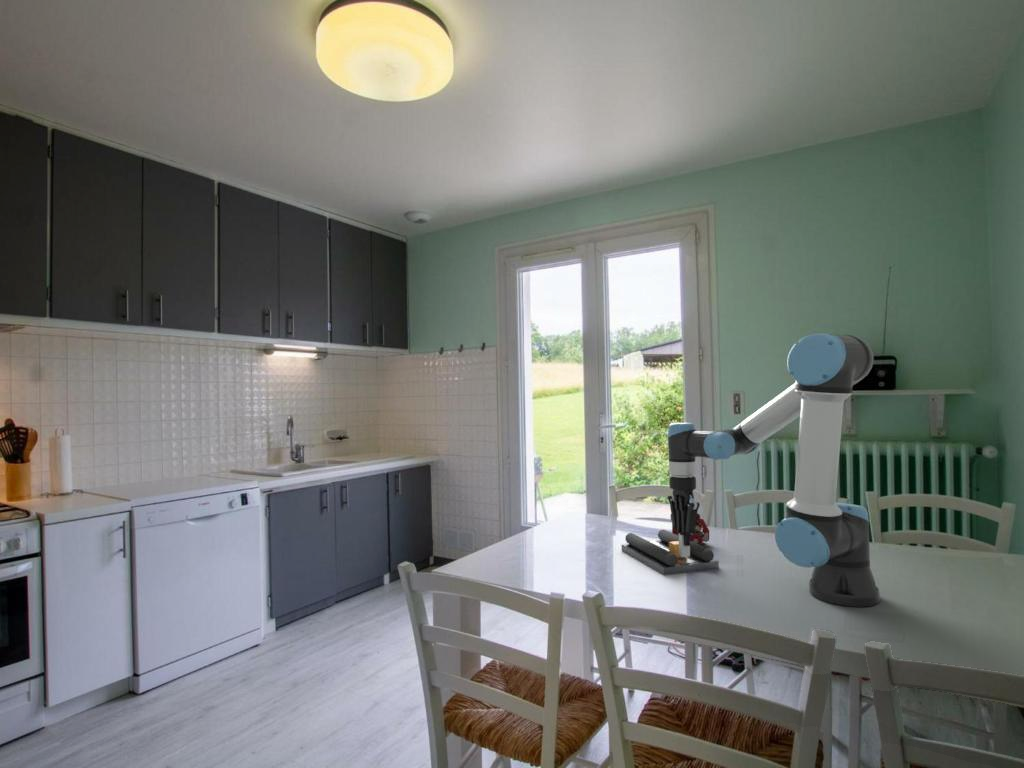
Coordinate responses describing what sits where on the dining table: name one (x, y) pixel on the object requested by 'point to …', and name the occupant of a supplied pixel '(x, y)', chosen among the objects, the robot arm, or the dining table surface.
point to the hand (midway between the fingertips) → (684, 555)
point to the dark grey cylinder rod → (652, 549)
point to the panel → (682, 565)
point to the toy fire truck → (697, 531)
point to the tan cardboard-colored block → (674, 548)
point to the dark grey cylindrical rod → (694, 548)
